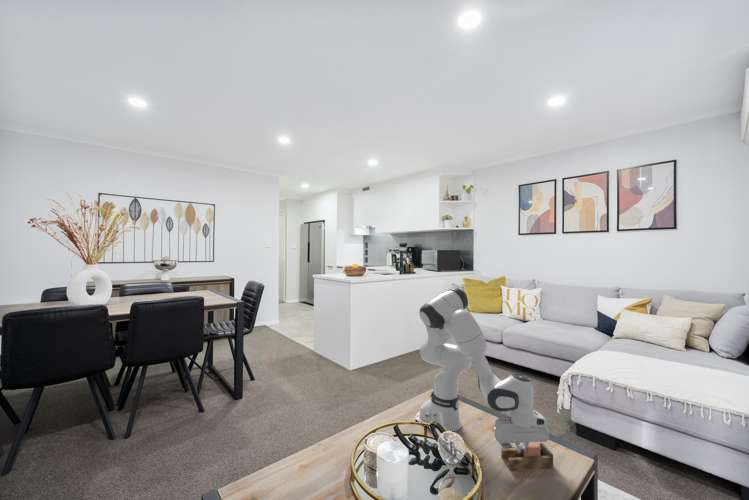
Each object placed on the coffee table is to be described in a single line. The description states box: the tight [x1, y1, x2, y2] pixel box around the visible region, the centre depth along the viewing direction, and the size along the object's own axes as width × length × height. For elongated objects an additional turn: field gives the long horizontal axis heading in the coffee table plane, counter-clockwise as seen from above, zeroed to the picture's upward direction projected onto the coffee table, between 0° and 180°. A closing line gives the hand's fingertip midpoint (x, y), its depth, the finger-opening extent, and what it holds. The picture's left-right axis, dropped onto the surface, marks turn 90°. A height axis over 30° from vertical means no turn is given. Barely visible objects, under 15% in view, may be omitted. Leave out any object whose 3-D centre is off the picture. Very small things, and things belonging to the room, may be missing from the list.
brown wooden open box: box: [500, 442, 554, 472], centre depth 121 cm, size 17×7×5 cm, turn 93°
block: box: [523, 442, 541, 457], centre depth 121 cm, size 5×3×6 cm
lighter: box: [493, 427, 511, 446], centre depth 133 cm, size 7×2×8 cm, turn 107°
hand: (521, 451), depth 120 cm, fingers closed
